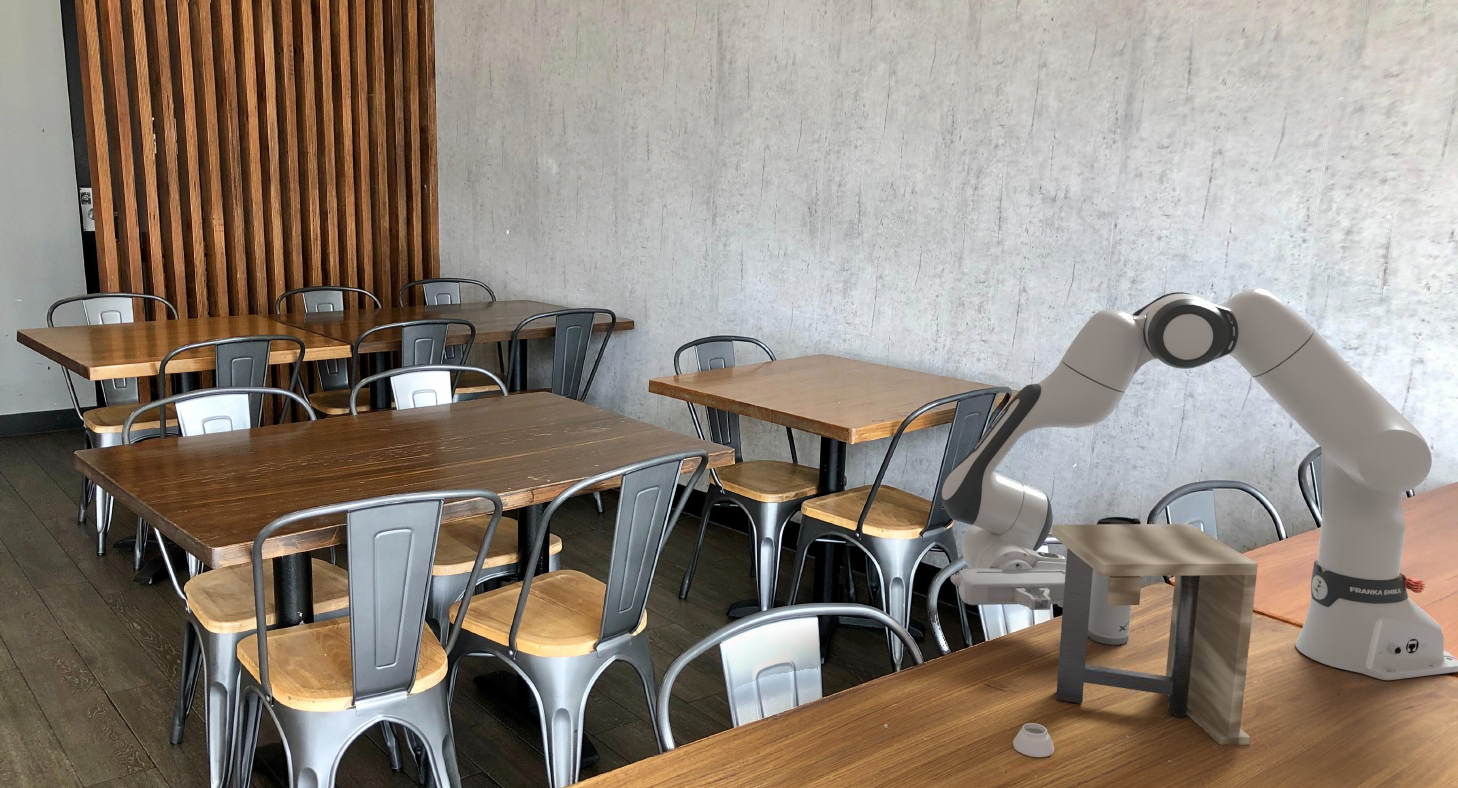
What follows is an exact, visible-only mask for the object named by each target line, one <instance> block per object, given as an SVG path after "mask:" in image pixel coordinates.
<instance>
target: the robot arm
mask: <svg viewBox="0 0 1458 788" xmlns="http://www.w3.org/2000/svg"><path fill="white" fill-rule="evenodd" d="M1305 319H1306V318H1305ZM1305 319H1304V318H1303V316H1301V315H1300V314H1299V313H1298V312H1297V311H1296V310H1294V309H1293V308H1292V307H1291V306H1289V304H1287V303H1286V302H1284V301H1283V300H1281V298H1279V297H1277V296H1276V295H1274V294H1273V293H1271V292H1270V291H1268V290H1266V289H1264V288H1250V289H1245V290H1243V291H1241V292H1239V293H1237V294H1234V296H1232V297H1230V299H1228V300H1227V301H1226V302H1223V303H1219V304H1217V303H1216V304H1215V303H1211V302H1210V301H1207V300H1206V299H1204V298H1202V297H1199V296H1197V295H1194V294H1192V293H1189V292H1184V291H1183V292H1182V291H1180V292H1179V291H1177V292H1176V291H1175V292H1169V293H1166V294H1163V295H1162V296H1159V297H1158V298H1156V299H1154V300H1152V301H1151V302H1149V303H1148V304H1146V305H1145V306H1143V307H1141V308H1140V309H1138V310H1136V311H1135V312H1133V314H1131V313H1128V312H1126V311H1122V310H1117V309H1103V310H1099V311H1097V312H1095V314H1093V315H1092V316H1091V317H1090V318H1089V320H1088V321H1087V322H1086V323H1085V324H1084V326H1083V327H1082V328H1081V329H1080V331H1079V332H1078V334H1077V335H1076V336H1075V337H1074V339H1073V341H1071V344H1070V345H1069V346H1068V348H1067V349H1066V351H1065V353H1064V355H1063V356H1062V358H1061V360H1060V362H1059V363H1058V365H1057V366H1056V367H1055V368H1054V370H1053V371H1052V372H1051V373H1050V374H1049V375H1047V376H1046V377H1045V378H1044V379H1042V380H1041V381H1039V382H1037V383H1032V384H1027V385H1025V386H1023V387H1022V389H1020V390H1019V392H1017V393H1016V395H1014V397H1013V398H1012V399H1011V400H1010V401H1009V402H1008V404H1007V405H1006V406H1005V407H1004V409H1002V411H1001V412H1000V414H999V415H998V416H997V417H996V418H995V420H994V421H993V422H992V423H991V425H990V426H989V427H988V429H987V430H986V432H985V433H983V435H982V437H981V438H980V439H979V440H978V441H977V443H976V444H975V445H974V446H973V448H972V449H971V451H970V452H968V454H967V455H966V456H965V457H964V458H963V459H962V460H961V461H960V462H959V463H958V464H957V465H956V466H955V467H954V468H953V469H952V470H951V471H950V472H949V474H948V476H947V477H946V479H945V480H944V482H943V485H942V488H941V490H940V491H941V492H940V499H941V502H942V505H943V507H944V509H945V511H946V513H947V515H948V516H949V517H950V519H951V520H953V521H956V522H960V523H963V524H967V525H969V526H971V527H969V528H968V529H967V530H966V532H965V533H963V537H962V540H961V552H962V556H963V560H964V562H965V564H966V566H968V568H964V569H961V570H960V571H959V572H957V573H956V574H951V575H950V581H951V583H952V584H953V585H955V586H958V594H959V597H960V599H961V600H962V602H963V603H964V604H968V605H971V606H977V605H978V606H986V605H987V606H989V605H990V606H994V605H1020V606H1023V607H1026V608H1028V609H1029V610H1031V611H1048V610H1049V611H1050V610H1051V609H1052V607H1051V606H1052V605H1054V604H1055V605H1060V604H1061V605H1063V599H1064V586H1065V573H1066V560H1067V557H1065V556H1064V555H1062V554H1058V553H1052V552H1051V553H1050V552H1045V551H1044V552H1042V551H1038V550H1039V549H1040V548H1042V546H1043V544H1044V543H1045V541H1046V540H1047V539H1048V536H1049V533H1050V531H1051V530H1052V526H1053V522H1054V521H1053V519H1054V517H1053V514H1054V513H1053V508H1052V505H1051V501H1050V499H1049V497H1048V495H1047V493H1046V492H1045V491H1043V490H1041V489H1039V488H1036V487H1034V486H1032V485H1029V484H1027V483H1024V482H1022V481H1018V480H1015V479H1013V478H1010V477H1008V476H1006V475H1004V474H1001V473H998V472H996V471H995V470H996V469H997V468H998V466H999V465H1000V464H1001V463H1002V461H1003V460H1004V459H1005V457H1006V456H1007V455H1008V454H1009V453H1010V451H1011V450H1012V449H1013V448H1014V446H1015V445H1016V444H1017V442H1019V440H1020V439H1022V437H1023V436H1024V435H1025V434H1027V433H1029V432H1032V431H1034V430H1038V429H1039V430H1040V429H1046V428H1063V429H1064V428H1066V429H1081V428H1086V427H1092V426H1094V425H1097V424H1099V423H1101V422H1103V421H1106V419H1108V418H1109V417H1110V415H1111V414H1112V413H1113V412H1114V410H1115V409H1116V408H1117V406H1118V405H1119V404H1120V401H1121V400H1122V398H1123V396H1124V394H1125V393H1126V391H1127V389H1128V388H1129V386H1130V383H1131V382H1132V380H1133V378H1134V376H1135V375H1136V374H1137V373H1138V371H1139V370H1140V369H1141V368H1142V367H1143V366H1145V364H1147V363H1148V362H1151V361H1154V360H1159V361H1160V362H1162V363H1163V364H1164V365H1166V366H1169V367H1172V368H1174V369H1175V368H1176V369H1179V370H1180V369H1183V370H1186V369H1188V370H1189V369H1194V368H1198V367H1202V366H1204V365H1206V364H1209V363H1211V362H1214V361H1215V360H1217V359H1221V358H1223V357H1225V356H1228V355H1229V356H1231V357H1232V358H1233V359H1234V360H1236V362H1238V363H1239V364H1240V365H1241V366H1242V367H1243V368H1244V369H1245V371H1246V372H1247V373H1249V375H1250V376H1251V377H1252V378H1253V379H1254V380H1255V381H1256V383H1258V384H1259V385H1260V386H1261V388H1263V390H1265V392H1266V393H1268V394H1269V396H1270V397H1271V398H1272V399H1273V400H1274V401H1275V402H1276V403H1277V404H1278V405H1279V406H1280V407H1281V409H1283V410H1284V412H1285V413H1286V414H1287V415H1288V416H1289V417H1290V418H1291V419H1292V420H1294V421H1295V423H1297V424H1298V426H1300V427H1301V428H1302V430H1304V431H1305V432H1306V434H1307V435H1308V436H1310V437H1311V439H1312V440H1313V441H1315V442H1316V444H1318V446H1319V447H1321V458H1320V459H1321V460H1320V461H1321V462H1320V463H1321V464H1320V467H1321V470H1320V473H1321V474H1320V476H1321V477H1320V478H1321V481H1320V482H1321V498H1322V499H1321V500H1322V503H1321V504H1322V508H1321V509H1322V510H1321V511H1322V512H1321V513H1322V514H1321V523H1320V524H1321V525H1320V534H1319V541H1318V542H1319V543H1318V550H1317V559H1316V560H1314V561H1313V566H1312V567H1313V569H1312V574H1311V584H1310V586H1311V587H1310V594H1311V595H1310V596H1311V598H1310V602H1309V606H1308V610H1307V614H1306V618H1305V620H1304V624H1303V626H1302V629H1301V630H1300V632H1299V635H1298V638H1297V640H1296V641H1295V643H1294V644H1295V645H1294V646H1295V648H1296V649H1297V650H1298V651H1299V652H1300V653H1302V654H1303V655H1305V656H1306V657H1308V658H1310V659H1311V660H1314V661H1315V662H1319V663H1321V664H1324V665H1326V666H1329V667H1332V668H1337V669H1341V670H1345V671H1350V672H1355V673H1358V674H1363V675H1365V676H1369V677H1372V678H1376V679H1378V680H1383V681H1394V680H1401V679H1402V680H1403V679H1410V678H1416V677H1417V678H1418V677H1425V676H1434V675H1441V674H1450V673H1458V659H1457V657H1455V656H1454V655H1453V654H1452V653H1450V652H1448V651H1447V650H1446V649H1445V639H1444V633H1443V629H1442V627H1441V626H1440V624H1439V622H1437V620H1436V619H1434V618H1433V617H1432V616H1430V615H1429V614H1428V612H1426V611H1425V610H1423V609H1422V608H1421V607H1420V606H1418V605H1417V604H1416V603H1415V602H1414V601H1413V600H1411V599H1410V598H1409V595H1408V591H1407V590H1410V591H1412V592H1413V593H1415V594H1420V593H1422V592H1423V591H1424V590H1425V587H1426V585H1425V584H1426V583H1424V581H1423V580H1420V579H1418V578H1416V577H1414V576H1409V577H1407V576H1406V575H1404V574H1403V573H1402V572H1400V571H1401V570H1400V569H1401V564H1402V558H1403V549H1404V541H1405V534H1406V520H1405V517H1404V512H1403V511H1404V510H1403V504H1402V503H1403V502H1402V501H1403V500H1402V494H1403V493H1405V492H1406V493H1407V492H1409V491H1411V490H1414V489H1415V488H1417V487H1418V486H1420V485H1421V484H1422V483H1423V482H1424V481H1425V480H1426V478H1427V477H1428V476H1429V473H1430V472H1431V468H1432V462H1433V460H1432V459H1433V458H1432V453H1431V450H1430V448H1429V445H1428V443H1427V441H1426V440H1425V438H1424V437H1423V435H1422V434H1421V433H1420V431H1419V430H1418V429H1417V428H1416V427H1415V426H1414V425H1413V424H1412V423H1411V422H1410V421H1408V419H1407V418H1406V417H1405V416H1404V415H1403V414H1401V412H1400V411H1399V410H1398V409H1396V408H1395V406H1393V404H1391V403H1390V402H1389V401H1388V400H1387V399H1386V398H1385V397H1384V396H1383V395H1382V394H1381V393H1379V392H1378V390H1377V389H1376V388H1374V387H1373V386H1372V385H1371V384H1370V383H1369V382H1368V381H1367V380H1366V379H1364V378H1363V376H1362V375H1360V374H1359V373H1358V372H1357V371H1356V370H1355V369H1354V368H1353V367H1352V366H1351V365H1350V364H1349V363H1348V362H1347V361H1346V360H1345V359H1344V358H1343V357H1342V356H1341V355H1340V354H1339V353H1338V351H1336V349H1335V348H1333V346H1331V345H1330V344H1329V343H1328V342H1327V341H1326V339H1324V337H1323V336H1322V335H1320V333H1319V332H1318V331H1317V330H1316V329H1315V328H1314V327H1313V326H1312V325H1311V324H1310V323H1309V322H1308V321H1307V320H1305ZM1091 597H1092V587H1091ZM1090 600H1091V599H1090Z"/></svg>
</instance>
